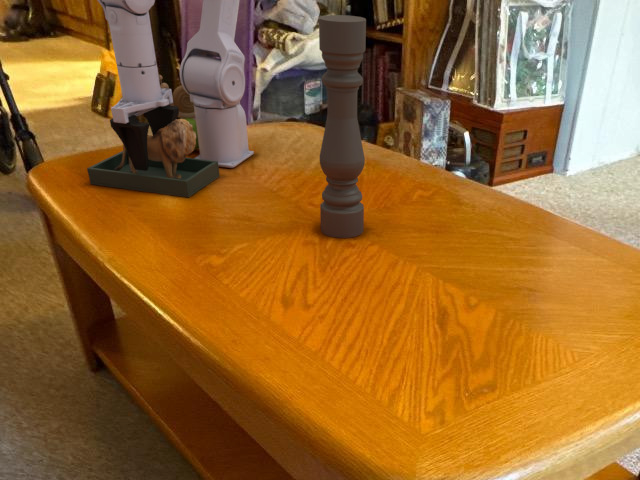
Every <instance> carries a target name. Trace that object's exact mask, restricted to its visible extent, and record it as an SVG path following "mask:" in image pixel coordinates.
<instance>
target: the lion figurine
mask: <svg viewBox="0 0 640 480" xmlns="http://www.w3.org/2000/svg"><path fill="white" fill-rule="evenodd" d="M195 139H196V133H195V132H194V131H193V129H192V125H191V124H189V122H188V121H187V120H185V119H181V118H177V119H176V120H175V121H172V123H170V124H168V125H167V126H166V127H164V128H161V129H159V130H158V131H157V133H156V134H155V135H153V134H152V135H150V134H148V136H147V151H148V159H149V160H152V161H162V163H163V165H164V168H165V172H166V176H167V178H174V179H181V175H179V174H177V173H176V168H177V163H182V162H183V161H184V160H185V158H186V157H187V156H188V155H190V154H192V153H193V152H194V151H193V150H194V148H195V144H196V140H195ZM122 151H123V158H122V162H121V164H120V165H119V166H117V167H116V168H115V169H114V170H115V171H120V170H121V169H122V168H123V166H124V163H125V160H126V152H127V150H126V148H125V146H124V145H123V144H122ZM129 169H130V170H131V171H132V172H133V173H136V174H138V172H137V171H138V170H135V168H134V166H133V164H132V162H131V159H130V157H129Z"/></svg>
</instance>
